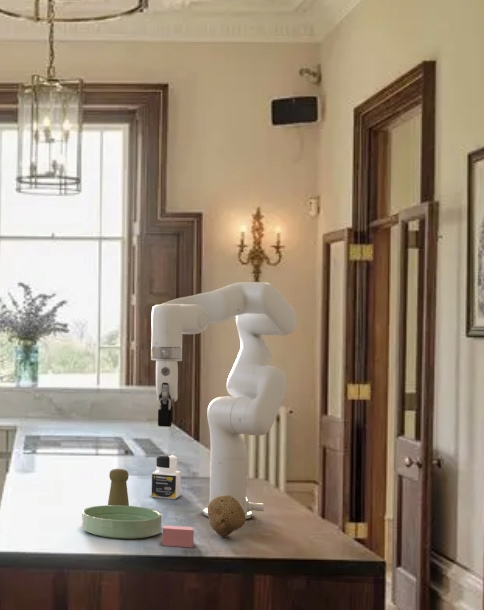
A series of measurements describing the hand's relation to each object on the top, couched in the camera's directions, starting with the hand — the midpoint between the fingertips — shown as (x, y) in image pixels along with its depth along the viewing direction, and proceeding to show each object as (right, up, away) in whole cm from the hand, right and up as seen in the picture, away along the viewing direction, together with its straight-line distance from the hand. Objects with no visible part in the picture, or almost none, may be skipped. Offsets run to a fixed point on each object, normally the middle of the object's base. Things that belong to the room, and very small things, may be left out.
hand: (165, 424), depth 248 cm
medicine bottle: (+7, -27, +47) cm, 55 cm away
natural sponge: (+14, -27, -5) cm, 30 cm away
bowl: (-11, -26, -1) cm, 28 cm away
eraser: (+1, -26, -15) cm, 30 cm away
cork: (-9, -26, +26) cm, 38 cm away
